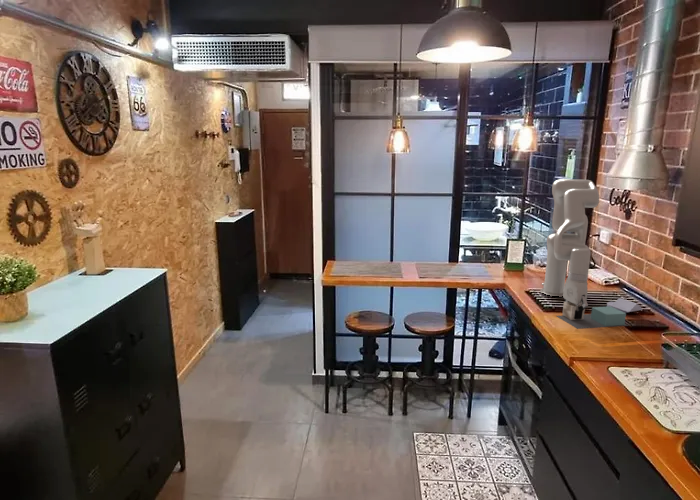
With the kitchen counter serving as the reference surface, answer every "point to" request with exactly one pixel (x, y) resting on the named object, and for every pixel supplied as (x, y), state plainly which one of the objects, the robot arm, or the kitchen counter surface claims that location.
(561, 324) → the kitchen counter surface
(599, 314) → the plinth
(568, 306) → the cream cube
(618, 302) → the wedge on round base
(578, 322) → the mat
